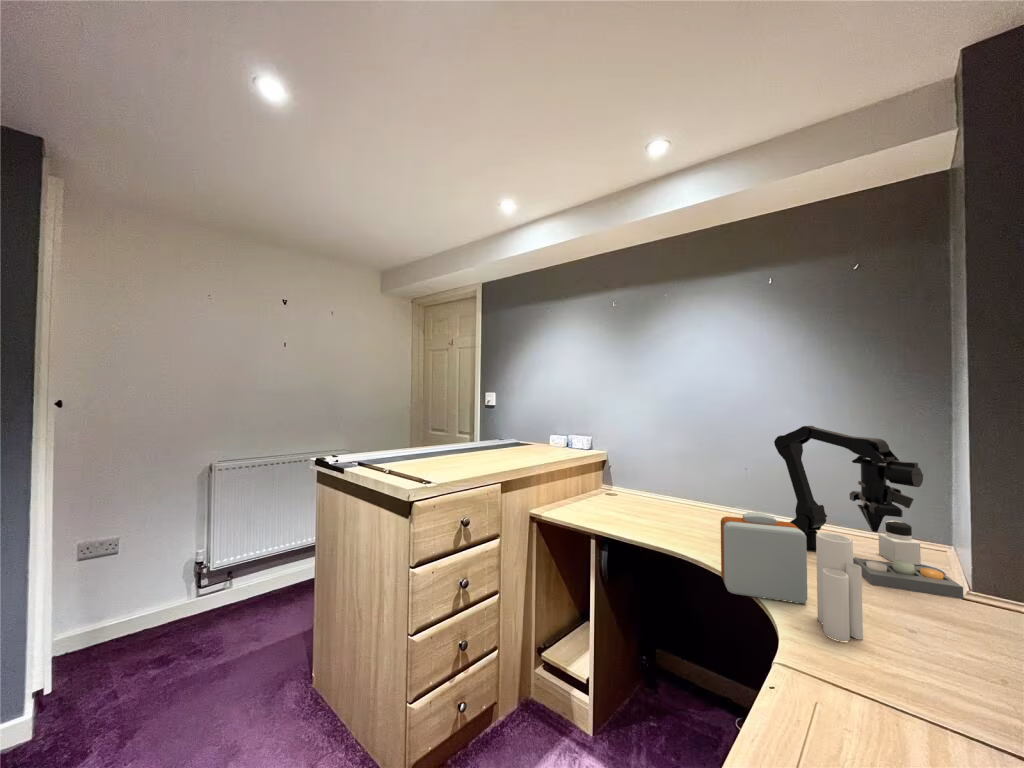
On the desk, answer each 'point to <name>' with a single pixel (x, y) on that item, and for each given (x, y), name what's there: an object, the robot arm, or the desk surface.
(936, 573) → the button orange
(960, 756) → the desk surface
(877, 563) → the button ivory
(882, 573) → the grey compartment tray
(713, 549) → the desk surface
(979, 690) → the desk surface
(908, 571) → the button sage
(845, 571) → the vase
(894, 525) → the medicine bottle
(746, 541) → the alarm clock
